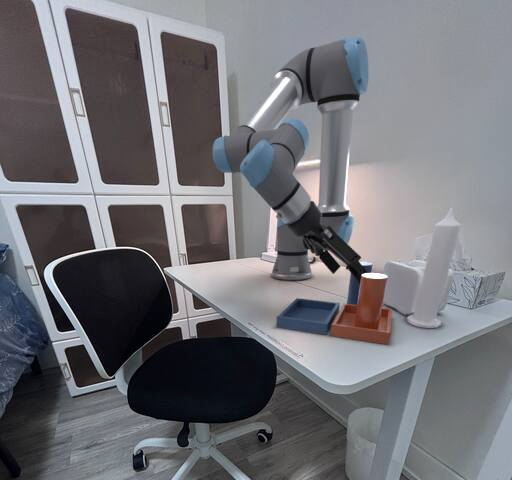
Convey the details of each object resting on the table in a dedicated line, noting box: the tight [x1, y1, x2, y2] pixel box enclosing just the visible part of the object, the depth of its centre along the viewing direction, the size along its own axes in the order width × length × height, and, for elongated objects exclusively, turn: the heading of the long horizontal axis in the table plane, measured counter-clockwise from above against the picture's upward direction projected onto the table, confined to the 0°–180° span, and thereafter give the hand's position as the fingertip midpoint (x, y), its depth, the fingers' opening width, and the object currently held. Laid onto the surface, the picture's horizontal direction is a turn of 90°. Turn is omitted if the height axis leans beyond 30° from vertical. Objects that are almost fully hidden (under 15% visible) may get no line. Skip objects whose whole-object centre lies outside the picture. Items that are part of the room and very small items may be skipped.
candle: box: [406, 206, 461, 329], centre depth 64 cm, size 7×7×25 cm
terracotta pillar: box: [354, 272, 388, 330], centre depth 62 cm, size 5×5×12 cm
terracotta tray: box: [330, 303, 393, 346], centre depth 67 cm, size 16×12×3 cm
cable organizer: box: [382, 259, 455, 316], centre depth 77 cm, size 15×11×12 cm
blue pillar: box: [346, 261, 374, 305], centre depth 76 cm, size 5×5×12 cm
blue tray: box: [276, 297, 340, 336], centre depth 71 cm, size 16×12×3 cm
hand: (350, 275), depth 74 cm, fingers open, 13 cm apart
